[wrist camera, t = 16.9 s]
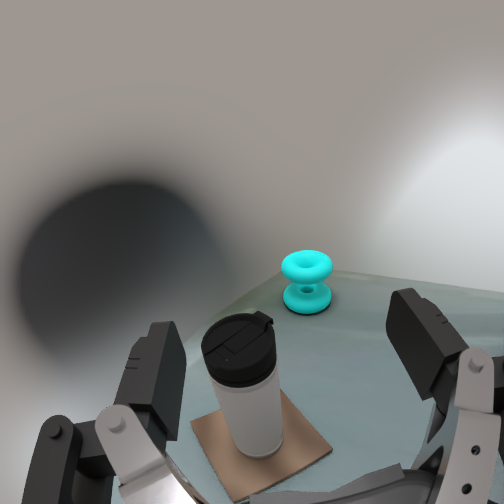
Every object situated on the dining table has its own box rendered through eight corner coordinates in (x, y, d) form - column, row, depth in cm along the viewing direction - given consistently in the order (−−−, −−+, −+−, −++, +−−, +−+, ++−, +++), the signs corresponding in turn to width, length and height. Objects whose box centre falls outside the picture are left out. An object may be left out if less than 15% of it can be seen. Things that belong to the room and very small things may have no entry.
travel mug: (295, 436, 31) (294, 328, 22) (258, 468, 28) (230, 376, 19) (262, 411, 36) (243, 299, 27) (225, 439, 32) (183, 334, 23)
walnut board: (276, 387, 41) (275, 383, 40) (331, 451, 29) (332, 448, 29) (191, 425, 35) (189, 421, 35) (234, 503, 24) (233, 501, 23)
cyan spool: (343, 261, 52) (300, 279, 49) (340, 304, 57) (301, 323, 53) (312, 243, 60) (271, 257, 57) (312, 282, 65) (274, 298, 61)
